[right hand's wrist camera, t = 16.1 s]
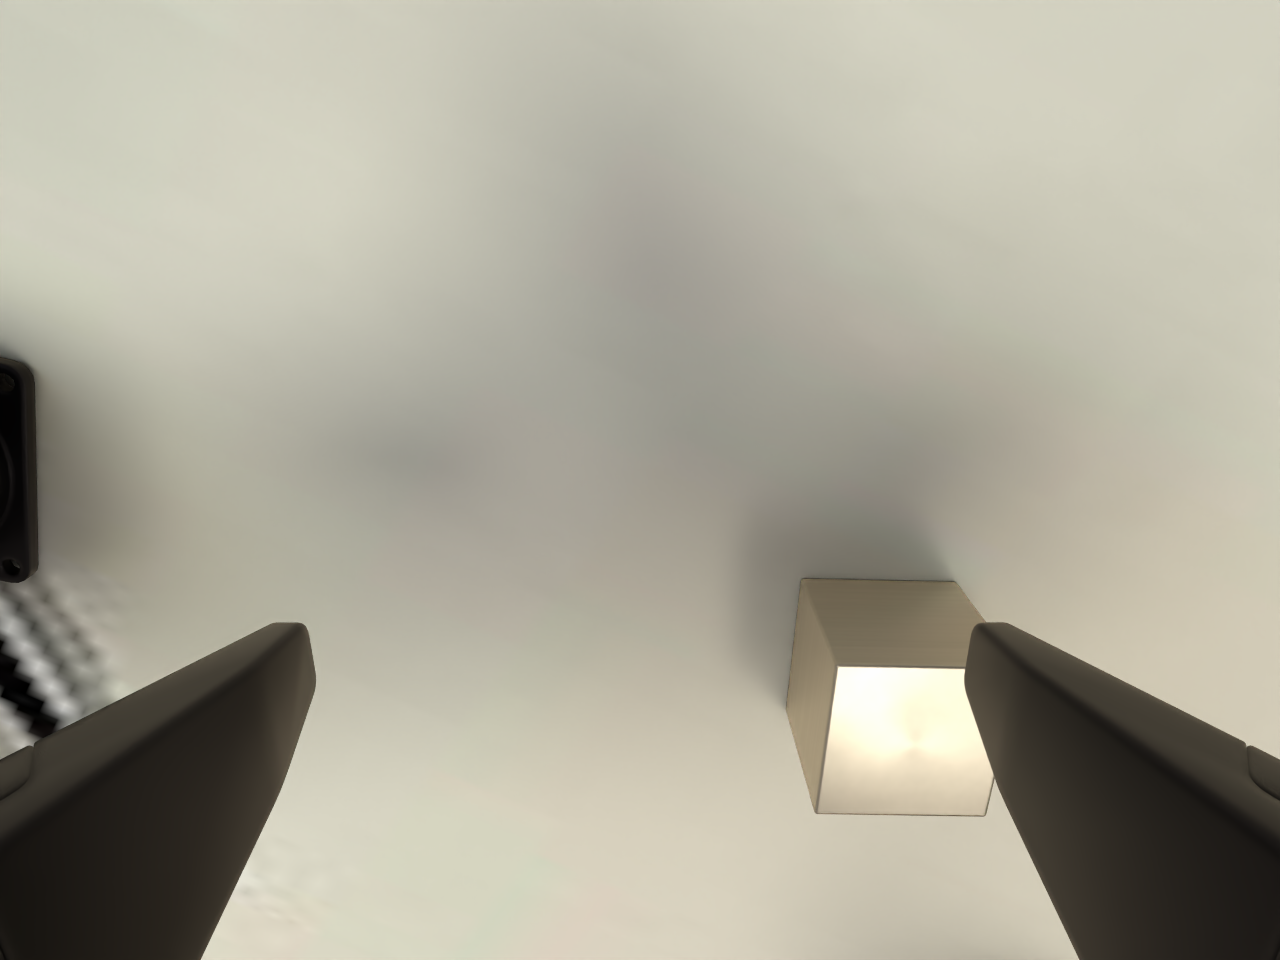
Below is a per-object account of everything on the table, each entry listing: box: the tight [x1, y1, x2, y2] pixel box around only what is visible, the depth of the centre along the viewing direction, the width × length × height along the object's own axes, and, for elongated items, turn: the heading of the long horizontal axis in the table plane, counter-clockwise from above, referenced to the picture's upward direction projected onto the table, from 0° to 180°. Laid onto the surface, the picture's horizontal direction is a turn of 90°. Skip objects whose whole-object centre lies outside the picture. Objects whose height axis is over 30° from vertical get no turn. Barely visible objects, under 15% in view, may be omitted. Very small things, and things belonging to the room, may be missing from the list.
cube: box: [786, 579, 995, 816], centre depth 24 cm, size 5×5×4 cm
